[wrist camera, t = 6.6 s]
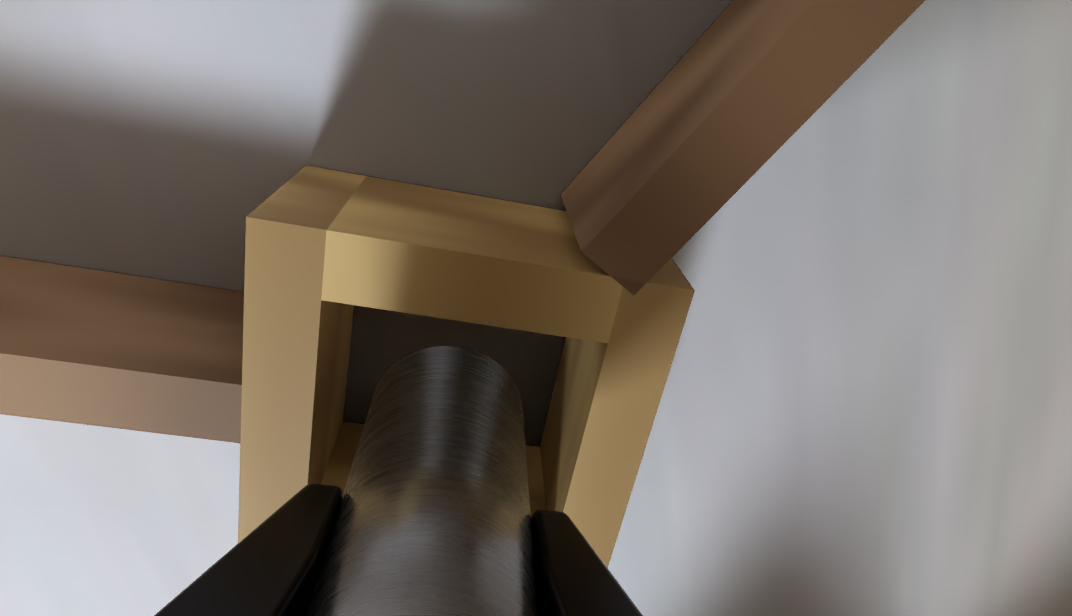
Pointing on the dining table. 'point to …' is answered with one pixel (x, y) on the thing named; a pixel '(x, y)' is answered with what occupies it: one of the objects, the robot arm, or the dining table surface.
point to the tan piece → (445, 282)
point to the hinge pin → (435, 497)
